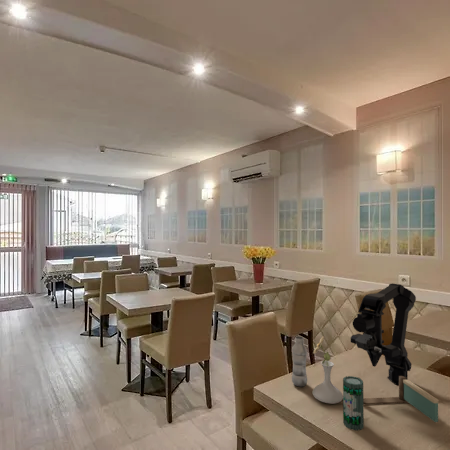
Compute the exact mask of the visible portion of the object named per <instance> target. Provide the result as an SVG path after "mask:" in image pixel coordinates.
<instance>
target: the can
mask: <svg viewBox="0 0 450 450" xmlns="http://www.w3.org/2000/svg"><path fill="white" fill-rule="evenodd" d="M360 378H361V377H360ZM360 378H357V376H352V375H348V376H345V377H343V378H342V395H343V399H342V402H343V403H342V407H343V408H342V409H343V410H342V411H343V412H342V413H343V415H342V419H343V425H344V426H345V427H346V428H347V429H349V430H353V431H362V430H364V426H365V425H364V422H365V421H364V420H365V419H364V417H365V416H364V415H365V413H364V405H363V398H364V381H362V380H363V379H362V378H361V379H362V380H361V379H360Z"/></svg>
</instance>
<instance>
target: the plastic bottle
mask: <svg viewBox="0 0 450 450" xmlns="http://www.w3.org/2000/svg"><path fill="white" fill-rule="evenodd" d="M304 343H305V340H304V337H303V336H300V335H299V336H297V335H296V336H295V338H294V344H293V346H292V348H291V352H292V353H291V355H292V363H293V364H292V374H291V381H292V384H293V385H294V386H296V387H300V388H301V387H305V386H306V385H307V383H308V377H307V376H308V375H307V368H306V367H307V364H306V363H307V355H308V349H307V347H306V345H305V344H304Z"/></svg>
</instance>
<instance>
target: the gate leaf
mask: <svg viewBox="0 0 450 450" xmlns="http://www.w3.org/2000/svg"><path fill="white" fill-rule="evenodd" d="M403 383H404V399H405V400H406V401H407V402H408V403H409V404H410V405H411V406H412V407H414V408H415V409H417V410H418V411H419V412H421V414H422V415H425V416H426V417H427V418H428V419H430V420H431V421H433V422H434V423H438V422H439V403H440V400H439V398H436V397H435V396H433V395H432V394H430V393H428V392H427V391H426V390H424V389H422V388H421V387H419V386H418V385H416V384H415V383H413V382H412V381H410V380H409V379H408V380H403Z"/></svg>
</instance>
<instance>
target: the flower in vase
mask: <svg viewBox="0 0 450 450" xmlns="http://www.w3.org/2000/svg"><path fill="white" fill-rule="evenodd" d="M324 340H325V336H323V335H322V337H321V338H320V339H319V343H317V344H316V347H315V348H314V350H313V352H312V354H314V355H316V354H317V353H318V352H319V350H320V349H322V351H323V357H324V359H323V360H322V361H320V364H321V366H322V368H323V372H324V374H323V375H324V378H323V381H322V382H321V383H319V384H318V385H316V386H315V387H313V389H312V392H311V393H312V396H313V397H314V398H315V399H316V400H318V401H320V402H322V403H324V404H325V403H326V404H339V403H340V402H341V401H343V392H342V391H341V390H340V389H339V388H338V387H336V386H335V385H334V384H333V383H332V380H331V373H332V369H333V367H334V366H335V364H334V362H332V361H330V360H331V355H330V353H329V352H328V351H325V350H324V347H323V343H324Z"/></svg>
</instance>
